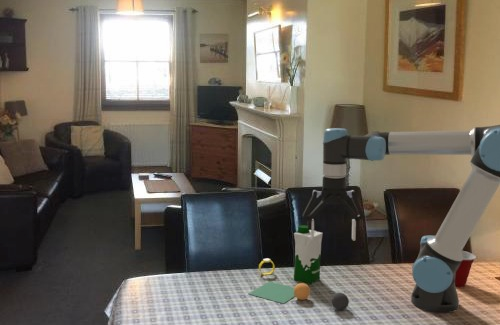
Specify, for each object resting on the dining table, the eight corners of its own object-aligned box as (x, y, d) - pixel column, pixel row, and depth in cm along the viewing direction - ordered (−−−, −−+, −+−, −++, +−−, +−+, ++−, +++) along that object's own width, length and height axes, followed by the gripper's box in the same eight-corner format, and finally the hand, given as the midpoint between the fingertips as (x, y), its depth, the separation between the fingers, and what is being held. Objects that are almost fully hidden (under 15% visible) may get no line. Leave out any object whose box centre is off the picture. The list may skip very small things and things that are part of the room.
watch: (260, 277, 211) (259, 261, 210) (258, 274, 213) (257, 259, 212) (275, 274, 212) (275, 259, 211) (273, 272, 215) (272, 257, 214)
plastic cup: (478, 290, 201) (480, 258, 199) (447, 289, 201) (450, 257, 199) (467, 279, 212) (469, 248, 210) (438, 278, 212) (440, 247, 210)
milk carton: (302, 273, 214) (304, 222, 211) (323, 279, 209) (325, 227, 206) (290, 280, 207) (291, 227, 204) (311, 286, 202) (313, 232, 199)
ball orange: (312, 298, 191) (313, 283, 190) (305, 303, 187) (305, 288, 186) (298, 294, 194) (298, 279, 193) (290, 299, 190) (291, 284, 189)
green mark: (303, 290, 198) (303, 290, 198) (283, 303, 186) (283, 303, 186) (269, 281, 205) (269, 281, 205) (248, 294, 194) (248, 293, 194)
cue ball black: (351, 308, 183) (351, 292, 183) (344, 314, 179) (344, 298, 178) (335, 304, 186) (336, 288, 186) (328, 310, 182) (329, 294, 181)
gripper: (370, 174, 186) (368, 236, 189) (295, 173, 187) (294, 235, 190) (375, 178, 179) (373, 242, 182) (296, 178, 179) (295, 242, 182)
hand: (332, 239), depth 186 cm, fingers open, 13 cm apart
